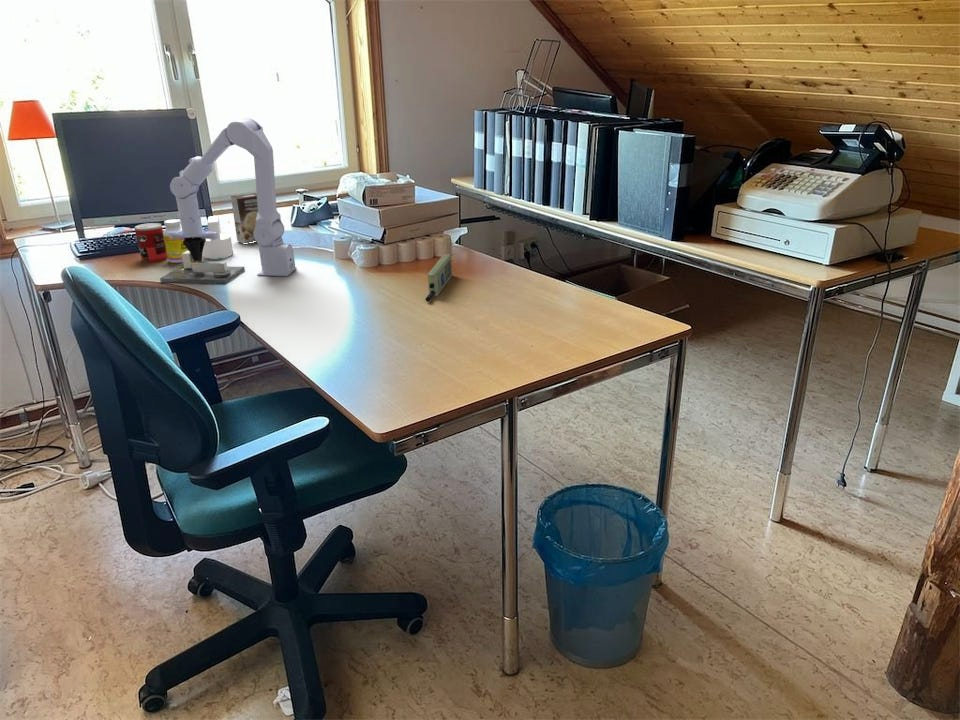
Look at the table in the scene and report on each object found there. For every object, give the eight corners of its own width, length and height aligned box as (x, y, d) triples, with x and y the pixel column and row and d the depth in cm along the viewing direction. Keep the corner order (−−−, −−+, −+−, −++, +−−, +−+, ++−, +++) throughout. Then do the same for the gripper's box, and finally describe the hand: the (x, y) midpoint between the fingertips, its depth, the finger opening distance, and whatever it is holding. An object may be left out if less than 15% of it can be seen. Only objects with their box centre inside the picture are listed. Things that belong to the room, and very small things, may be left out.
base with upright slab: (205, 253, 232) (198, 217, 227) (233, 250, 234) (227, 215, 229) (204, 260, 224) (197, 223, 219) (233, 257, 226) (227, 221, 221)
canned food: (141, 257, 227) (134, 224, 223) (167, 254, 230) (161, 221, 226) (141, 263, 221) (134, 229, 216) (169, 260, 224) (162, 226, 219)
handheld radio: (454, 276, 206) (434, 304, 183) (443, 276, 206) (422, 304, 184) (452, 254, 203) (432, 280, 181) (441, 254, 204) (420, 280, 181)
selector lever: (233, 271, 207) (231, 259, 205) (226, 276, 202) (224, 264, 201) (198, 270, 208) (196, 259, 206) (190, 275, 203) (188, 263, 202)
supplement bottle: (185, 263, 221) (177, 223, 215) (165, 263, 221) (156, 223, 215) (194, 257, 227) (186, 218, 221) (173, 257, 227) (166, 218, 222)
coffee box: (244, 245, 240) (236, 198, 233) (237, 241, 244) (229, 195, 238) (269, 240, 245) (262, 194, 238) (261, 237, 250) (255, 192, 243)
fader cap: (197, 264, 213) (194, 250, 212) (191, 268, 210) (189, 253, 208) (190, 264, 214) (187, 250, 212) (184, 267, 211) (181, 253, 209)
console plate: (244, 270, 213) (244, 266, 212) (225, 283, 201) (224, 279, 200) (183, 269, 215) (182, 265, 214) (160, 282, 203) (159, 278, 203)
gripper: (159, 220, 203) (169, 265, 208) (207, 220, 201) (215, 266, 207) (172, 214, 209) (180, 258, 215) (218, 215, 207) (225, 259, 213)
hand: (198, 261), depth 211 cm, fingers closed
